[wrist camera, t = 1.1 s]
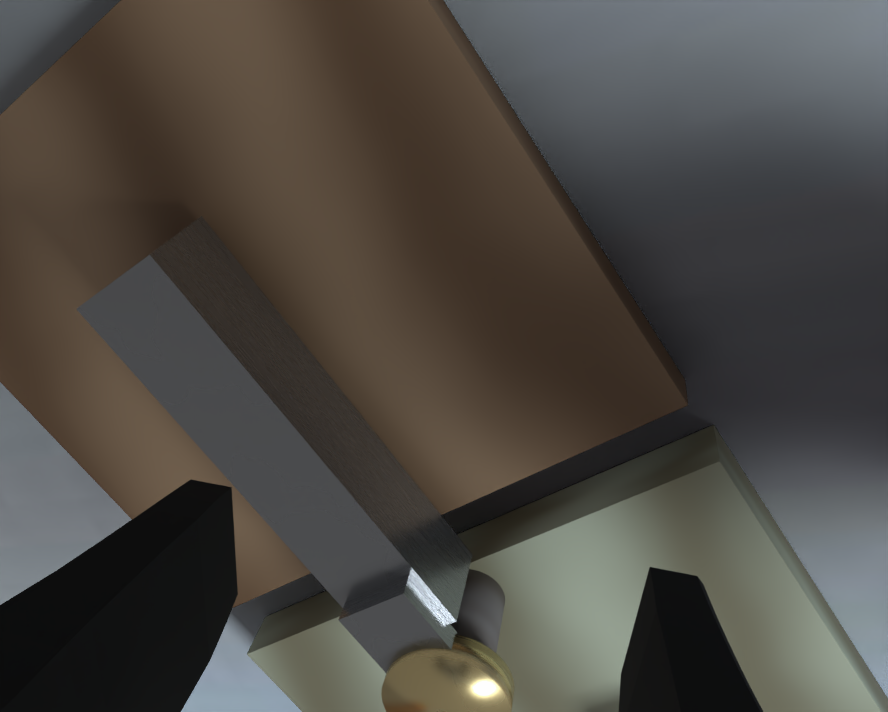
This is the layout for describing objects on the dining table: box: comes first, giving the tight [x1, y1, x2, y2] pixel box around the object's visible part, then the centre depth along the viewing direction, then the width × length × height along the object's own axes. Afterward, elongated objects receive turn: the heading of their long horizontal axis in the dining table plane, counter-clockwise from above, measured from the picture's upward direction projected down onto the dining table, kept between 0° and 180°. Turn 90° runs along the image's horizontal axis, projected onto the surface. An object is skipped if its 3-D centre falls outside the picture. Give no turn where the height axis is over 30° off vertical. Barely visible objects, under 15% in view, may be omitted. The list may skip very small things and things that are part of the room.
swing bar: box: [77, 216, 515, 712], centre depth 20 cm, size 14×3×3 cm, turn 36°
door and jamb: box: [0, 0, 888, 712], centre depth 22 cm, size 16×28×4 cm, turn 36°
